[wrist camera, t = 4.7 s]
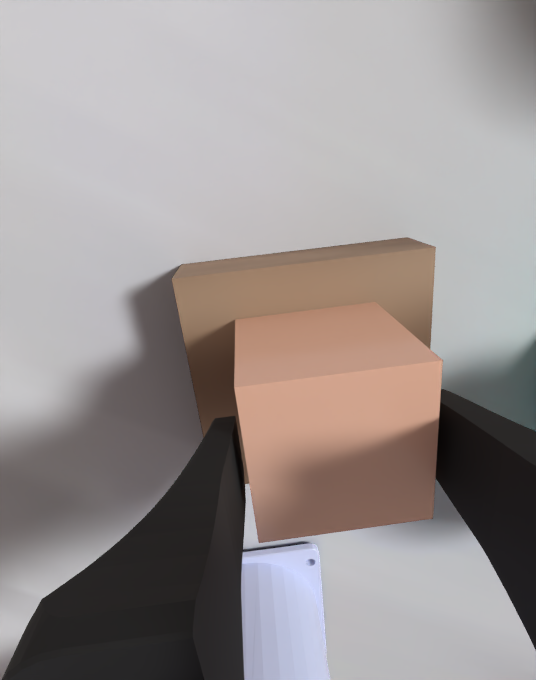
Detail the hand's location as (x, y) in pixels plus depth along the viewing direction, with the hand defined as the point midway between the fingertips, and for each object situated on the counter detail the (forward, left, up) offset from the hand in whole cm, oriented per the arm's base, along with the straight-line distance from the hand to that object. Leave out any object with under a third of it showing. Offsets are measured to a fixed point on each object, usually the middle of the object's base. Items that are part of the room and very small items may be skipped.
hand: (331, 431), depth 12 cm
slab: (0, 0, -6) cm, 6 cm away
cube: (0, 0, -3) cm, 3 cm away
